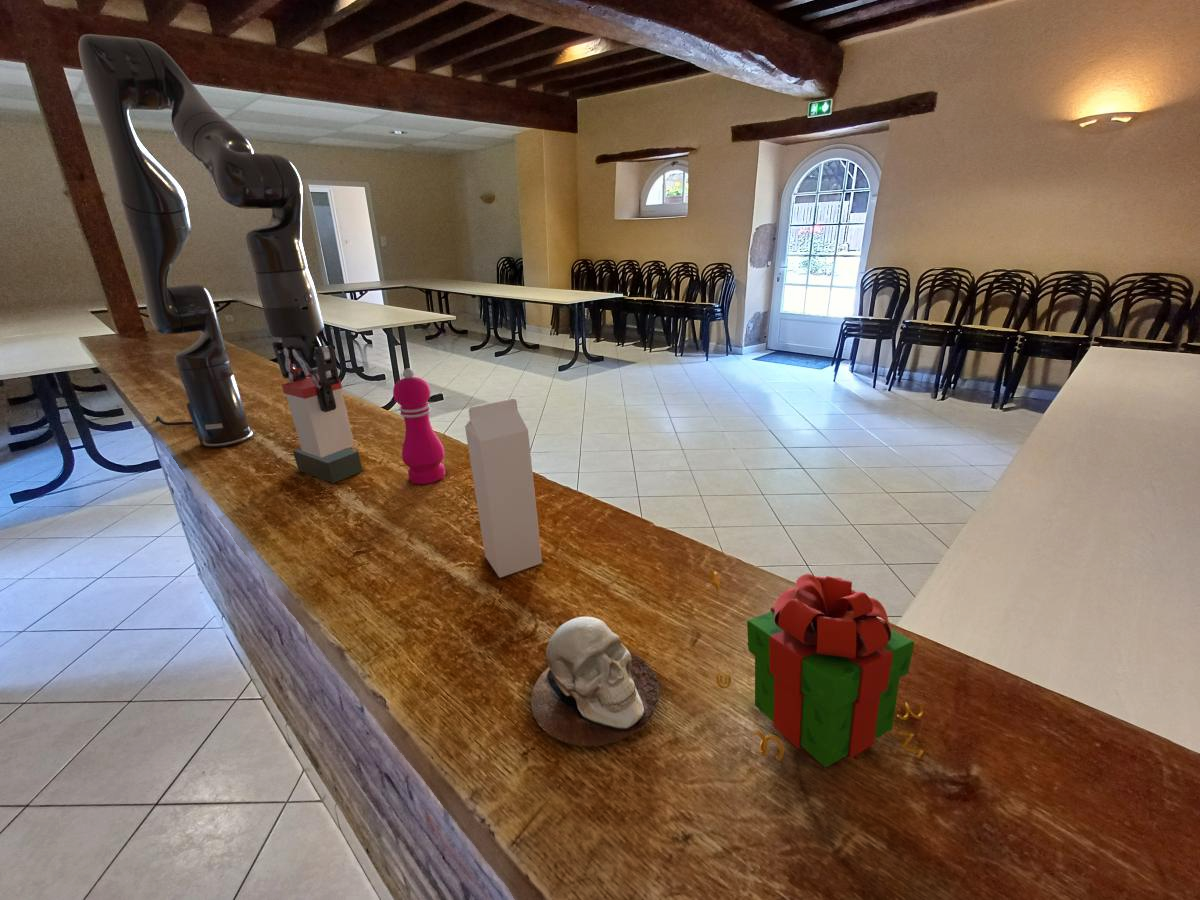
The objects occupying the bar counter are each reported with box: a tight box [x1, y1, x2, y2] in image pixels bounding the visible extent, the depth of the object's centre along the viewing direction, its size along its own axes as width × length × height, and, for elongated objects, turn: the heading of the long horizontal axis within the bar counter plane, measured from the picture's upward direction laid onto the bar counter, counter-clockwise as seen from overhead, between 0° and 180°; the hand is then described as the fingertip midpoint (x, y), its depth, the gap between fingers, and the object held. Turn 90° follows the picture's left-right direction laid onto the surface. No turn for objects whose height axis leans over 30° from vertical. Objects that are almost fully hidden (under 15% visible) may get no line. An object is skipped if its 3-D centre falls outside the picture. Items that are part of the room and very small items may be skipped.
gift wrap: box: [709, 570, 925, 768], centre depth 45 cm, size 20×19×14 cm
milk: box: [464, 398, 543, 578], centre depth 69 cm, size 6×6×22 cm
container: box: [281, 375, 355, 458], centre depth 90 cm, size 12×6×12 cm
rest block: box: [292, 447, 364, 484], centre depth 104 cm, size 6×12×4 cm, turn 55°
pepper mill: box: [392, 368, 446, 485], centre depth 96 cm, size 7×7×20 cm
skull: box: [530, 616, 660, 747], centre depth 51 cm, size 12×10×10 cm
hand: (317, 407), depth 90 cm, fingers closed on container, 6 cm apart
